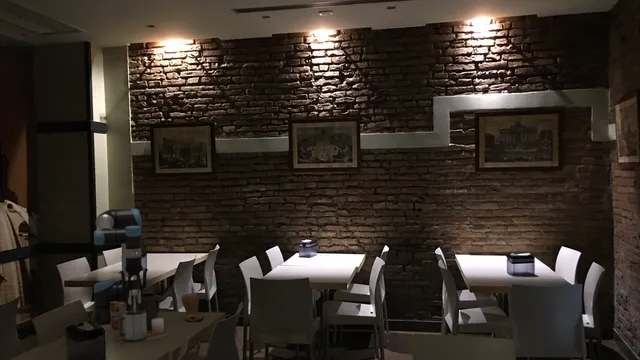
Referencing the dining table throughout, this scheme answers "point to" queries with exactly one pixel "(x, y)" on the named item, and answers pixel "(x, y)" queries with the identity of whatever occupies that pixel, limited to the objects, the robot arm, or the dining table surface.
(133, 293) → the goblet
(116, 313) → the candy box
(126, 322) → the grey octagonal container
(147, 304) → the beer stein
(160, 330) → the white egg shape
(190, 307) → the brown boot
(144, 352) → the dining table surface
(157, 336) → the serving board
